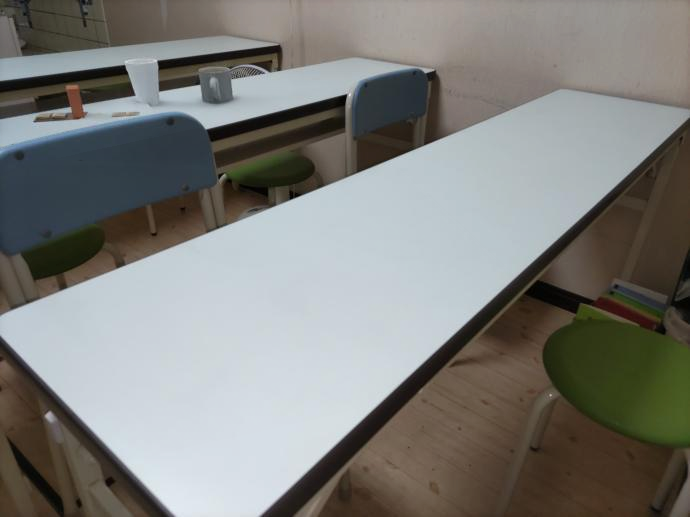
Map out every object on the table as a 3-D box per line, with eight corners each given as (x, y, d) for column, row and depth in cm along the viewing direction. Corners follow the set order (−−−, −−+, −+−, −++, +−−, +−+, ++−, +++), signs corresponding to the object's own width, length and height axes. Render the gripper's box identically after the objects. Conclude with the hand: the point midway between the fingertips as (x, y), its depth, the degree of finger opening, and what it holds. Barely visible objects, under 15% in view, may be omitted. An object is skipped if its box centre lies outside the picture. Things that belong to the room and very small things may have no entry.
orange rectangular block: (73, 118, 144) (66, 89, 140) (72, 113, 147) (66, 85, 143) (85, 117, 145) (78, 88, 141) (84, 113, 149) (77, 84, 145)
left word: (34, 124, 141) (32, 119, 140) (40, 116, 147) (38, 111, 146) (85, 122, 144) (84, 117, 143) (89, 115, 150) (87, 109, 150)
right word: (94, 124, 143) (92, 118, 142) (97, 116, 149) (96, 111, 149) (139, 122, 146) (138, 116, 145) (140, 114, 153) (139, 109, 152)
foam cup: (127, 104, 162) (118, 61, 156) (153, 99, 168) (146, 57, 162) (143, 109, 157) (135, 65, 150) (170, 103, 163) (163, 61, 157)
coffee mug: (208, 97, 174) (204, 66, 168) (236, 98, 173) (233, 67, 168) (194, 107, 162) (190, 74, 157) (225, 108, 161) (221, 75, 156)
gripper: (93, -29, 154) (107, 32, 150) (-3, -31, 144) (10, 34, 141) (90, -49, 147) (105, 14, 144) (-11, -52, 138) (2, 15, 134)
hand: (58, 24), depth 142 cm, fingers open, 13 cm apart
